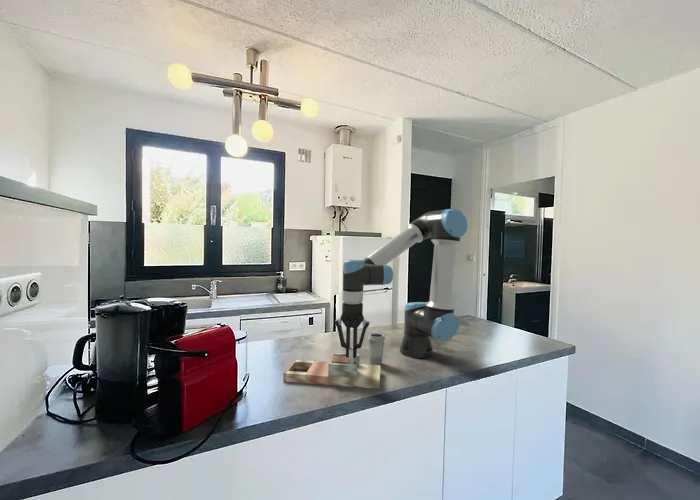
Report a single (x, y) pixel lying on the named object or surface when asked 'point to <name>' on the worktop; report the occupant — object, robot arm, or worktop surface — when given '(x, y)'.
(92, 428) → the worktop surface
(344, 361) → the block
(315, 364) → the compartment tray
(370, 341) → the cup
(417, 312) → the robot arm
